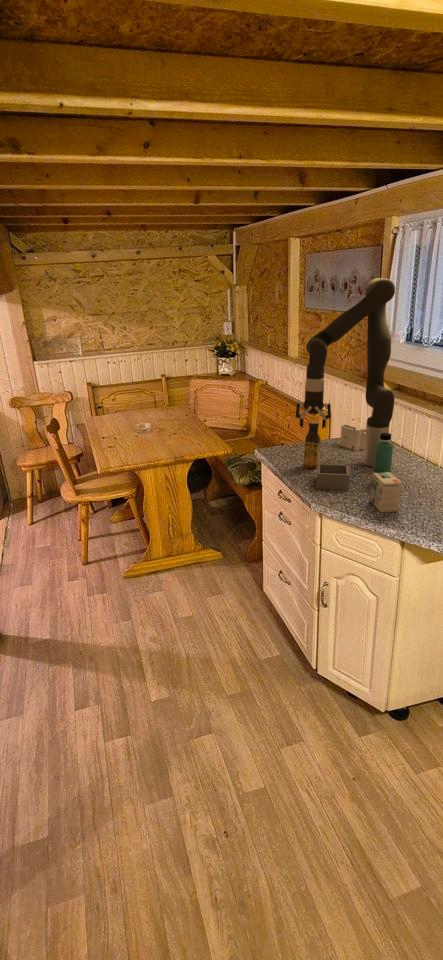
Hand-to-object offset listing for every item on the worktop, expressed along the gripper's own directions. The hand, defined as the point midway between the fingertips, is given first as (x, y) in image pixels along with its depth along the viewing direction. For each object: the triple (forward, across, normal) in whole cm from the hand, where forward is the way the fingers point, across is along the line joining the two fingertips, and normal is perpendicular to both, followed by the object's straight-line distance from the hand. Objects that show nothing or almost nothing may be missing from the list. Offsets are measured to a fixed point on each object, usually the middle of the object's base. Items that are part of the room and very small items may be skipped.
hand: (312, 427), depth 213 cm
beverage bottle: (+18, -28, +14) cm, 36 cm away
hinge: (+18, -19, -30) cm, 40 cm away
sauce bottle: (+18, 0, 0) cm, 18 cm away
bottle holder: (+18, -9, +18) cm, 27 cm away
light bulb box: (+18, -27, +37) cm, 49 cm away
